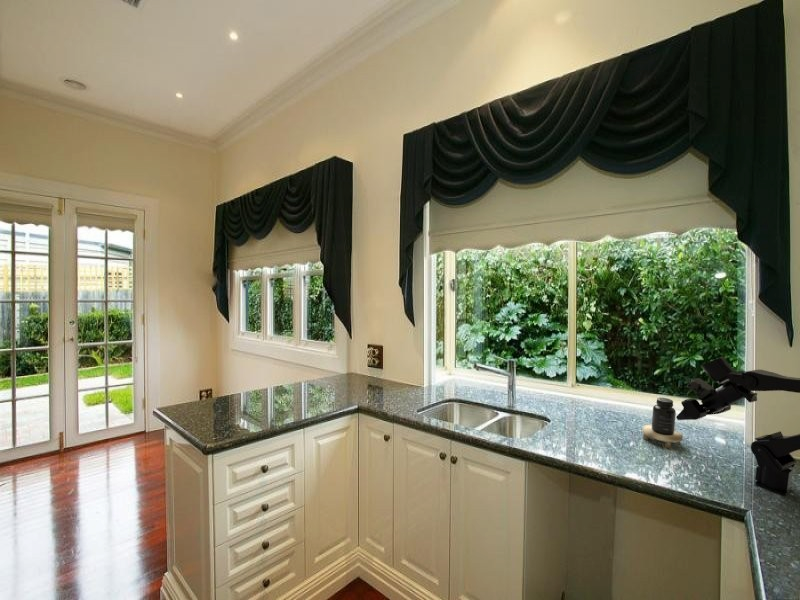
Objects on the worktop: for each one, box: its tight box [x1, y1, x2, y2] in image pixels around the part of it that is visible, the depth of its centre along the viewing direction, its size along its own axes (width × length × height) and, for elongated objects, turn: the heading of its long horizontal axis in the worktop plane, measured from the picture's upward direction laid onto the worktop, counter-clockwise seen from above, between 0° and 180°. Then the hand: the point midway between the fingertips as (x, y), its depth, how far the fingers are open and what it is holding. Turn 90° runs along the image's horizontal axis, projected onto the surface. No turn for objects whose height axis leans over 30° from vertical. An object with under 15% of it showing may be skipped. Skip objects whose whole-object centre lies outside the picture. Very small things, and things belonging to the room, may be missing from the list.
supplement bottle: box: [651, 397, 677, 435], centre depth 137 cm, size 7×7×12 cm
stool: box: [641, 424, 684, 449], centre depth 138 cm, size 12×12×4 cm
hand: (685, 416), depth 131 cm, fingers open, 9 cm apart
